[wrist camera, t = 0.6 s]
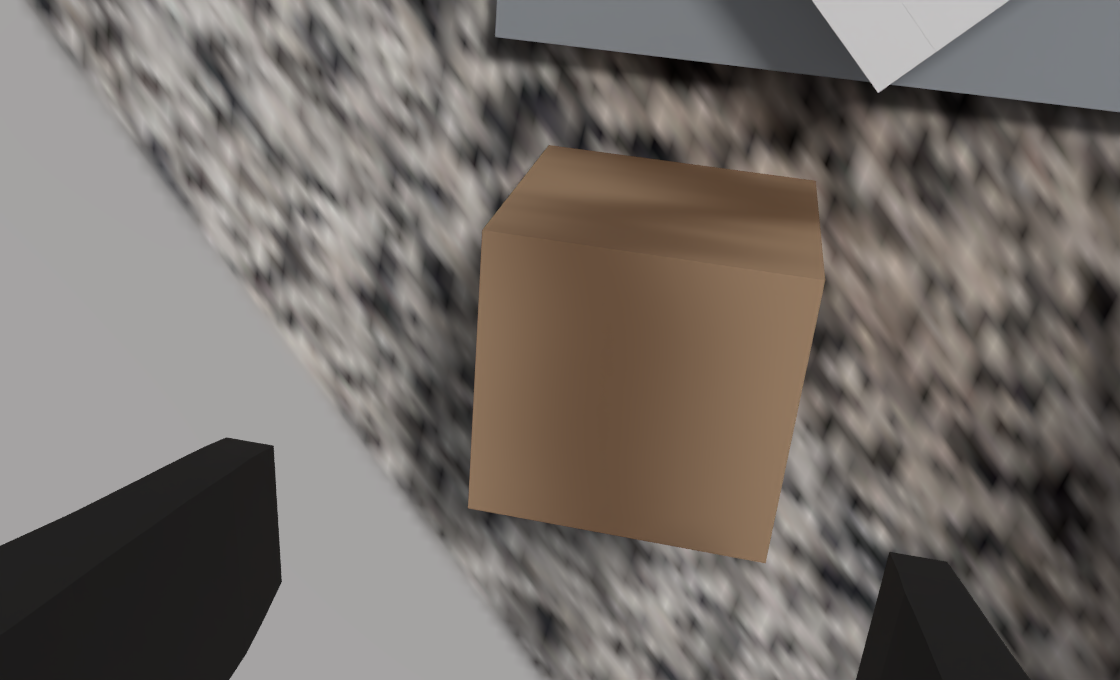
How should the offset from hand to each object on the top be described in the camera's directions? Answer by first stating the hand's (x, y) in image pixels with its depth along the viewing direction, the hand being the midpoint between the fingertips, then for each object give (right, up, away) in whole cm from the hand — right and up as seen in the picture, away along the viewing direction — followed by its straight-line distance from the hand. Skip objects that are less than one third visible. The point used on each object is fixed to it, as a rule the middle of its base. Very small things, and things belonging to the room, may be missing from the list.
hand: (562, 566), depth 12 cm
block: (+2, +4, +8) cm, 10 cm away
